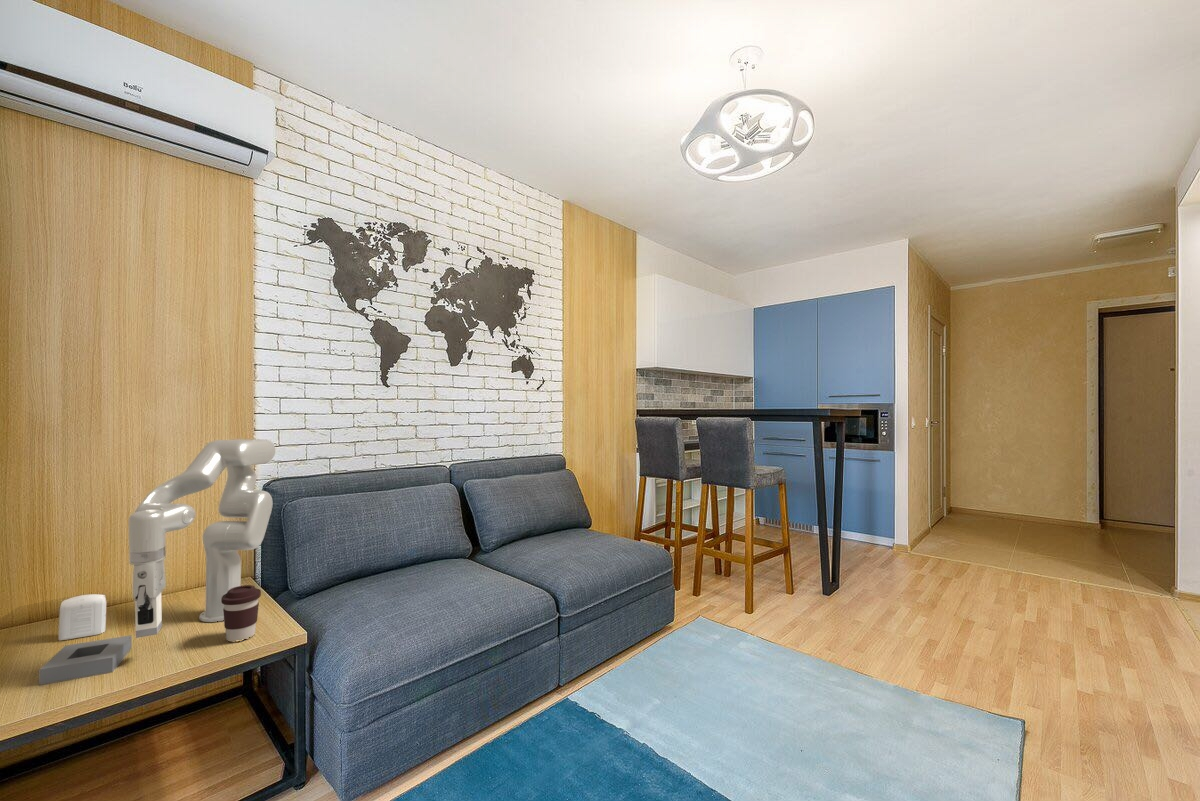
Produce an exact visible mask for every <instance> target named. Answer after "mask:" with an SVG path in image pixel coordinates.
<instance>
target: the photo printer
mask: <svg viewBox="0 0 1200 801" xmlns="http://www.w3.org/2000/svg"><path fill="white" fill-rule="evenodd" d="M58 616H59V617H58V618H59V619H58V641H65V640H66V641H67V640H71V639H72V640H73V639H79V638H83V637H84V638H85V637H90V636H91V637H92V636H96V635H101V633H102V634H104V633H105V632H106V625H107V624H106V623H107V598H106V595H105V594H98V593H97V594H96V593H94V594H93V593H92V594H90V593H89V594H82V595H77V596H73V597H70V598H66V599H64V600H63V601H61V604H60V606H59V615H58ZM103 632H104V633H103Z"/></svg>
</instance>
